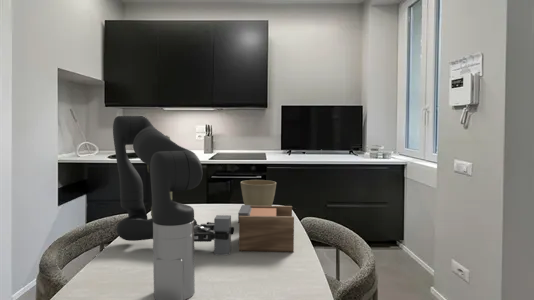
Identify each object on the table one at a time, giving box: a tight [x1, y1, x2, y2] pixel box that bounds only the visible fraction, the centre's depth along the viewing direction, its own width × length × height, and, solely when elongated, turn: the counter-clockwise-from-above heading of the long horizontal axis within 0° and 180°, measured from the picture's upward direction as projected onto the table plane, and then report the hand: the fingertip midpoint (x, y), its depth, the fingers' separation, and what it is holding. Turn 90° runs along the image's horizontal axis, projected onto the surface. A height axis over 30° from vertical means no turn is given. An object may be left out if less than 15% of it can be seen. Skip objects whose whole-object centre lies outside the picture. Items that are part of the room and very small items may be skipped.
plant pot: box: [240, 179, 277, 206], centre depth 154 cm, size 15×15×16 cm
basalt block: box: [213, 214, 232, 256], centre depth 115 cm, size 4×4×11 cm
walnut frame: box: [238, 205, 295, 253], centre depth 123 cm, size 16×17×11 cm
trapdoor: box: [237, 204, 276, 224], centre depth 123 cm, size 13×12×3 cm
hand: (230, 233), depth 114 cm, fingers closed on basalt block, 5 cm apart
